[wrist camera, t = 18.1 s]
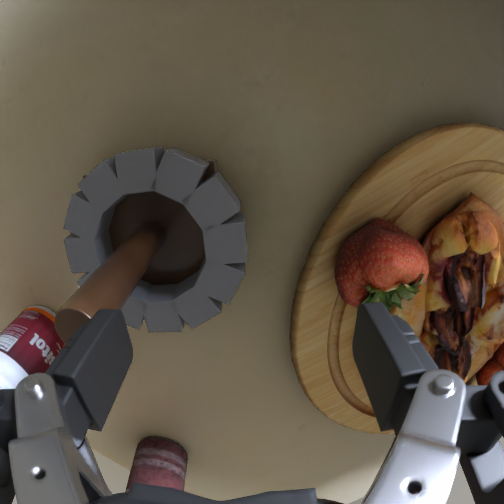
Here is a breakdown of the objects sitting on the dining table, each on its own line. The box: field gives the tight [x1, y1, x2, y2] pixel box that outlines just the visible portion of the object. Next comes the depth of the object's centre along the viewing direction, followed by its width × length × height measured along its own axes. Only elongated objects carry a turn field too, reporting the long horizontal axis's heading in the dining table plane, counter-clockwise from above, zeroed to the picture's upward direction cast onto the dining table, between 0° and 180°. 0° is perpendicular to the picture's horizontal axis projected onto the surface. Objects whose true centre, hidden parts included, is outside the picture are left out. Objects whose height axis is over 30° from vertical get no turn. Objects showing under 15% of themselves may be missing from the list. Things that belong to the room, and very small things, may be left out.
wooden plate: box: [290, 122, 504, 434], centre depth 21 cm, size 32×32×8 cm
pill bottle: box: [0, 305, 65, 389], centre depth 19 cm, size 6×6×11 cm
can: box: [126, 437, 188, 492], centre depth 24 cm, size 6×6×14 cm
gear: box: [64, 146, 248, 332], centre depth 19 cm, size 12×12×2 cm
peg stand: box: [55, 159, 217, 344], centre depth 16 cm, size 9×9×12 cm
